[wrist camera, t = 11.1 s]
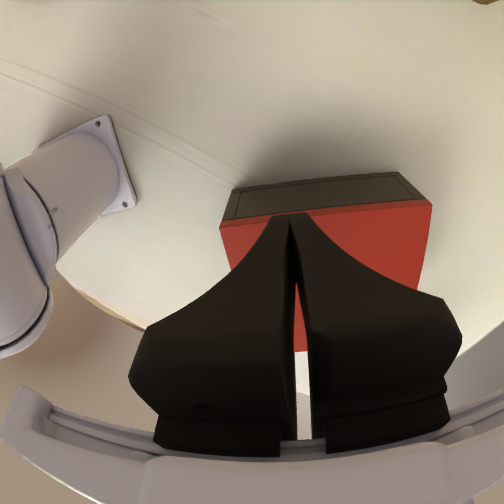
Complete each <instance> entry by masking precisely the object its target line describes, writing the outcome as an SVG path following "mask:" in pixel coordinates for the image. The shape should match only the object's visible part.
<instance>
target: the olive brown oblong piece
mask: <svg viewBox="0 0 504 504" xmlns="http://www.w3.org/2000/svg"><path fill="white" fill-rule="evenodd" d="M473 1H475V2H477V3H479V4H490V3H492V2H495V1H498V0H473Z"/></svg>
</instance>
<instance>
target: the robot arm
mask: <svg viewBox="0 0 504 504" xmlns="http://www.w3.org/2000/svg"><path fill="white" fill-rule="evenodd" d="M98 121H100V123H101V125H100V126H99V125H98ZM124 201H125V202H127V203H128V205H126V204H125V202H124ZM136 205H137V199H136V196H135V193H134V191H133V188H132V185H131V182H130V179H129V177H128V174H127V171H126V168H125V165H124V162H123V159H122V156H121V152H120V149H119V146H118V143H117V140H116V136H115V133H114V130H113V126H112V123H111V119H110V117H109V116H108V115H102V116H100V117H97V118H95V119H93V120H91V121H89V122H86V123H84V124H82V125H80V126H78V127H76V128H74V129H72V130H70V131H68V132H66V133H64V134H62V135H60V136H59V137H57V138H55V139H53V140H51V141H49V142H48V143H46V144H44V145H42V146H41V147H39V148H37V149H36V150H34V151H33V154H31V155H29V156H28V157H26V158H24V159H22V160H20V161H19V162H17V163H15V164H14V165H12V166H10V167H8V168H7V169H5V170H3V167H2V163H1V162H0V359H2V358H4V357H7V356H11V355H14V354H16V353H19V352H21V351H23V350H25V349H26V348H28V347H29V346H30V345H31V344H32V343H34V342H35V341H36V340H37V338H38V337H39V336H40V335H41V333H42V332H43V330H44V329H45V327H46V325H47V324H48V321H49V319H50V317H51V314H52V311H53V306H54V300H53V295H52V293H51V290H50V289H49V287H50V286H51V284H52V283H53V282H54V281H55V279H56V278H57V277H58V274H57V271H56V267H55V264H56V263H57V262H58V261H59V259H60V258H61V257H62V256H63V255H64V254H65V252H66V251H67V250H68V249H69V248H70V247H71V246H72V245H73V243H74V242H75V241H76V240H77V239H78V238H79V237H80V236H81V235H82V234H83V233H84V232H85V230H86V229H87V228H88V227H89V226H90V225H91V224H92V223H93V222H94V221H95V220H96V219H97V218H98V217H99V216H102V215H106V214H110V213H115V212H119V211H123V210H128V209H132V208H134V207H135V206H136ZM296 285H297V290H298V295H299V300H300V305H301V310H302V315H303V321H304V326H305V332H306V339H307V352H308V367H309V385H310V406H311V439H308V440H297V408H296V407H297V406H296V377H295V353H294V322H295V299H296ZM461 345H462V334H461V332H460V330H459V328H458V325H457V323H456V321H455V319H454V317H453V315H452V313H451V311H450V310H449V308H448V306H447V305H446V303H445V302H444V300H443V299H441V298H438V297H435V296H433V295H430V294H427V293H424V292H421V291H418V290H415V289H412V288H410V287H407V286H405V285H403V284H401V283H398V282H396V281H394V280H392V279H390V278H388V277H385V276H383V275H382V274H380V273H378V272H376V271H374V270H373V269H371V268H369V267H367V266H366V265H364V264H362V263H361V262H359V261H358V260H357V259H355V258H354V257H352V256H351V255H349V254H348V253H347V252H345V251H344V250H343V249H342V248H340V247H339V246H338V245H337V244H336V243H335V242H334V241H333V240H331V239H330V238H329V237H328V236H327V235H326V234H325V233H324V232H323V231H322V230H321V229H320V227H319V226H318V225H317V224H316V223H315V222H314V221H313V219H312V218H311V217H310V216H309V214H307V213H306V212H301V213H292V214H282V215H274V216H271V218H270V219H269V221H268V222H267V224H266V226H265V228H264V229H263V231H262V233H261V234H260V236H259V237H258V239H257V240H256V242H255V243H254V245H253V246H252V247H251V249H250V250H249V251H248V253H247V254H246V255H245V256H244V258H243V259H242V260H241V261H240V262H239V263H238V265H237V266H236V267H235V268H234V269H233V270H232V271H231V272H230V273H229V274H228V275H226V276H225V277H224V278H223V279H222V280H221V281H219V282H218V283H217V284H216V285H214V286H213V287H212V288H211V289H210V290H208V291H207V292H206V293H204V294H203V295H202V296H200V297H199V298H197V299H196V300H194V301H193V302H191V303H190V304H188V305H187V306H185V307H183V308H182V309H180V310H178V311H177V312H175V313H173V314H171V315H169V316H167V317H165V318H164V319H162V320H160V321H158V322H156V323H154V324H152V325H150V326H148V327H147V328H146V330H145V333H144V335H143V337H142V339H141V341H140V344H139V347H138V349H137V353H136V355H135V357H134V360H133V363H132V366H131V369H130V372H129V375H128V378H129V382H130V384H131V386H132V388H133V389H134V390H135V392H136V393H137V394H138V395H139V396H140V397H141V398H142V399H143V400H144V401H145V402H146V403H147V404H148V405H149V406H150V407H151V408H152V409H153V410H154V411H155V412H156V413H157V414H158V415H159V416H158V420H157V424H156V428H155V432H149V431H144V430H139V429H134V428H129V427H125V426H121V425H116V424H112V423H108V422H104V421H100V420H97V419H94V418H90V417H87V416H83V415H80V414H77V413H74V412H71V411H68V410H65V409H62V408H59V407H57V406H54V405H53V404H52V403H51V402H50V401H49V400H48V399H47V398H45V397H44V396H43V395H41V394H40V393H38V392H36V391H35V390H32V389H30V388H27V387H25V386H22V385H20V386H19V387H18V389H17V391H16V393H15V395H14V397H13V400H12V402H11V404H10V406H9V409H8V411H7V413H6V416H5V418H4V421H3V423H2V426H1V428H0V440H1V441H2V442H4V443H5V444H6V445H8V446H9V447H10V448H12V449H13V450H14V451H16V452H17V453H18V454H20V455H21V456H22V457H24V458H25V459H27V460H28V461H29V462H31V463H32V464H33V465H35V466H36V467H37V468H39V469H41V470H42V471H44V472H45V473H46V474H48V475H49V476H51V477H53V478H54V479H56V480H58V481H59V482H61V483H62V484H64V485H65V486H67V487H69V488H70V489H72V490H74V491H76V492H77V493H79V494H81V495H83V496H85V497H87V498H89V499H91V500H93V501H95V502H97V503H99V504H474V501H473V497H475V496H477V495H479V494H481V493H482V492H484V491H486V490H487V489H489V488H491V487H492V486H494V485H496V484H497V483H499V482H500V481H502V480H503V479H504V388H503V389H502V390H499V391H497V392H495V393H493V394H490V395H488V396H486V397H484V398H481V399H479V400H477V401H474V402H471V403H469V404H467V405H464V406H461V407H458V408H455V409H453V410H450V411H448V407H447V404H446V400H445V397H444V393H446V391H447V385H446V382H445V379H444V375H445V373H446V372H447V371H448V369H449V367H450V366H451V364H452V363H453V361H454V359H455V358H456V356H457V354H458V352H459V349H460V347H461Z"/></svg>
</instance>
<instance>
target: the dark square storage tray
mask: <svg viewBox="0 0 504 504" xmlns="http://www.w3.org/2000/svg"><path fill="white" fill-rule="evenodd" d="M421 199H426V198H425V197H424V196H423V195H422V194H421V193H420V192H419V191H418V190H417V189H416V188H415V187H414V186H413V185H412V184H411V183H410V182H409V181H408V180H406V179H405V178H404V177H403V176H402V175H401V174H400V173H399V172H390V173H374V174H361V175H349V176H338V177H327V178H318V179H308V180H300V181H291V182H283V183H276V184H268V185H261V186H254V187H247V188H241V189H234V190H232V192H231V195H230V198H229V201H228V204H227V207H226V209H225V212H224V215H223V218H222V221H227V220H234V219H242V218H249V217H257V216H264V215H272V214H280V213H288V212H297V211H305V210H314V209H323V208H332V207H342V206H352V205H362V204H373V203H384V202H395V201H408V200H421Z"/></svg>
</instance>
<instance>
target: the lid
mask: <svg viewBox="0 0 504 504" xmlns="http://www.w3.org/2000/svg"><path fill="white" fill-rule="evenodd" d="M301 212H306V213H307V214H309V216H310V217H311V218H312V219H313V221H314V222H315V223H316V224H317V225H318V226H319V227H320V229H321V230H322V231H323V232H324V233H325V234H326V235H327V236H328V237H329V238H330V239H331V240H333V241H334V242H335V243H336V244H337V245H338V246H339V247H340V248H342V249H343V250H344V251H345V252H347V253H348V254H349V255H351V256H352V257H354V258H355V259H357V260H358V261H359V262H361V263H362V264H364V265H366V266H367V267H369V268H371V269H373V270H374V271H376V272H378V273H380V274H382V275H383V276H385V277H388V278H390V279H392V280H394V281H396V282H398V283H401V284H403V285H405V286H407V287H410V288H412V289H415V290H417V287H418V283H419V279H420V274H421V270H422V265H423V260H424V255H425V250H426V245H427V239H428V233H429V226H430V219H431V212H432V204H431V203H430V202H429V201H428V200H427V199H421V200H408V201H395V202H384V203H373V204H362V205H352V206H342V207H332V208H323V209H314V210H305V211H297V212H288V213H280V214H272V215H264V216H257V217H249V218H242V219H234V220H227V221H221V224H220V227H219V230H220V233H221V237H222V240H223V244H224V247H225V251H226V254H227V258H228V261H229V265H230V268H231V271H232V270H233V269H234V268H235V267H236V266H237V265H238V263H239V262H240V261H241V260H242V259H243V258H244V256H245V255H246V254H247V253H248V251H249V250H250V249H251V247H252V246H253V245H254V243H255V242H256V240H257V239H258V237H259V236H260V234H261V233H262V231H263V229H264V228H265V226H266V224H267V222H268V221H269V219H270V218H271V216H274V215H282V214H292V213H301ZM302 351H307V339H306V332H305V326H304V321H303V315H302V310H301V305H300V300H299V295H298V290H297V285H296V299H295V322H294V352H302Z"/></svg>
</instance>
